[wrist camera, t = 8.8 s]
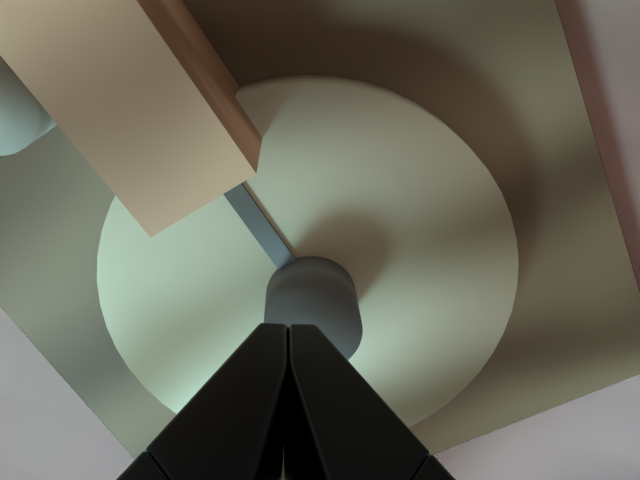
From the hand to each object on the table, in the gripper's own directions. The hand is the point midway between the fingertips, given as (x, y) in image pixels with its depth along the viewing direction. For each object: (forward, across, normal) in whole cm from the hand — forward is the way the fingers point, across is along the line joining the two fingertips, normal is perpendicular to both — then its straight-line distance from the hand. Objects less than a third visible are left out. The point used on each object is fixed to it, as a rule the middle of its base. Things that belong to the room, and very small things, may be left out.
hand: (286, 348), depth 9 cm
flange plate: (+10, 0, +2) cm, 10 cm away
